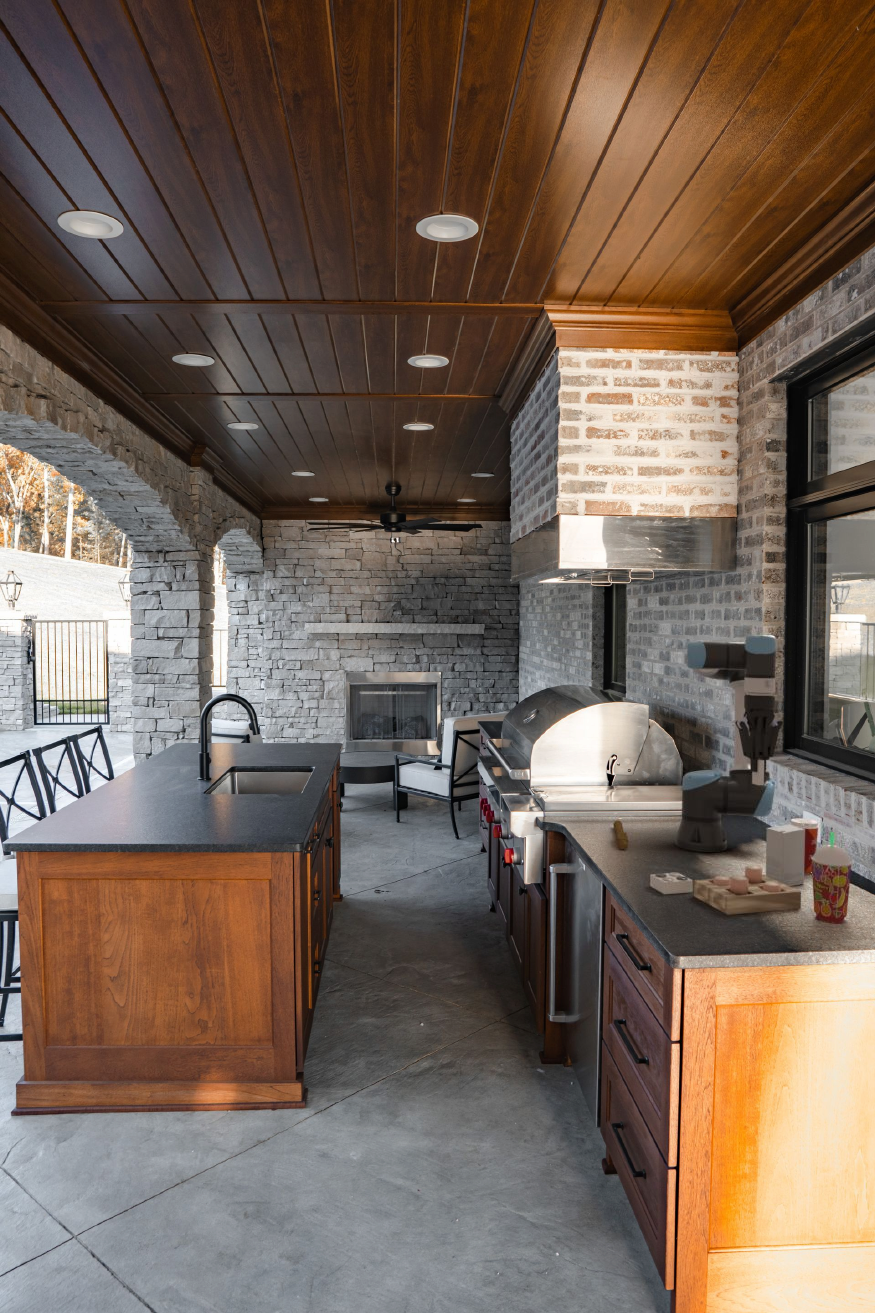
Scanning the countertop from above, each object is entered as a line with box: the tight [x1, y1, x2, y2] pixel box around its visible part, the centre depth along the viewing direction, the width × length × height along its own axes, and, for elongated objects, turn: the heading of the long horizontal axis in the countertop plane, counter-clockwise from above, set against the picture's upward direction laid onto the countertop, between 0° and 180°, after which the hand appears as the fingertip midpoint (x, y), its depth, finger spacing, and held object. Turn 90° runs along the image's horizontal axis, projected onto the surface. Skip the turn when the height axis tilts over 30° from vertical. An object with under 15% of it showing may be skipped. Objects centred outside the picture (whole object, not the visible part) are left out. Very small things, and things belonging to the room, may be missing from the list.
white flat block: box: [649, 871, 694, 895], centre depth 209 cm, size 7×8×3 cm
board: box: [693, 874, 802, 916], centre depth 199 cm, size 14×20×4 cm
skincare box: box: [765, 824, 805, 887], centre depth 215 cm, size 8×6×15 cm
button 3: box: [744, 865, 763, 884], centre depth 204 cm, size 4×4×4 cm
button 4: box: [763, 882, 781, 893], centre depth 197 cm, size 4×4×4 cm
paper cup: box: [788, 817, 820, 874], centre depth 227 cm, size 8×8×14 cm
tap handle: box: [613, 820, 629, 850], centre depth 262 cm, size 3×3×30 cm
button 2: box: [730, 875, 749, 895], centre depth 195 cm, size 4×4×4 cm
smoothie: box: [811, 832, 853, 924], centre depth 188 cm, size 8×8×20 cm
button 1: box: [712, 875, 731, 886], centre depth 202 cm, size 4×4×4 cm
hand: (757, 784), depth 213 cm, fingers closed
